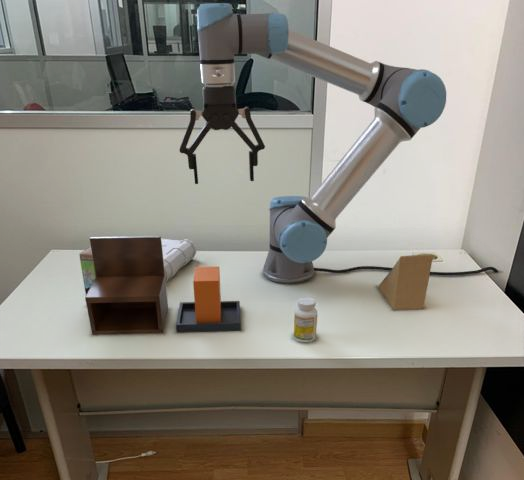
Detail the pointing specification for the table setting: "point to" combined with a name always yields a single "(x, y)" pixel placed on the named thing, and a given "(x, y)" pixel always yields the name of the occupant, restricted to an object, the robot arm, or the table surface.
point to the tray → (228, 323)
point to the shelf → (127, 286)
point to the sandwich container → (407, 282)
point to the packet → (207, 294)
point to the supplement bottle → (305, 320)
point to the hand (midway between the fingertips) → (224, 181)
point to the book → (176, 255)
